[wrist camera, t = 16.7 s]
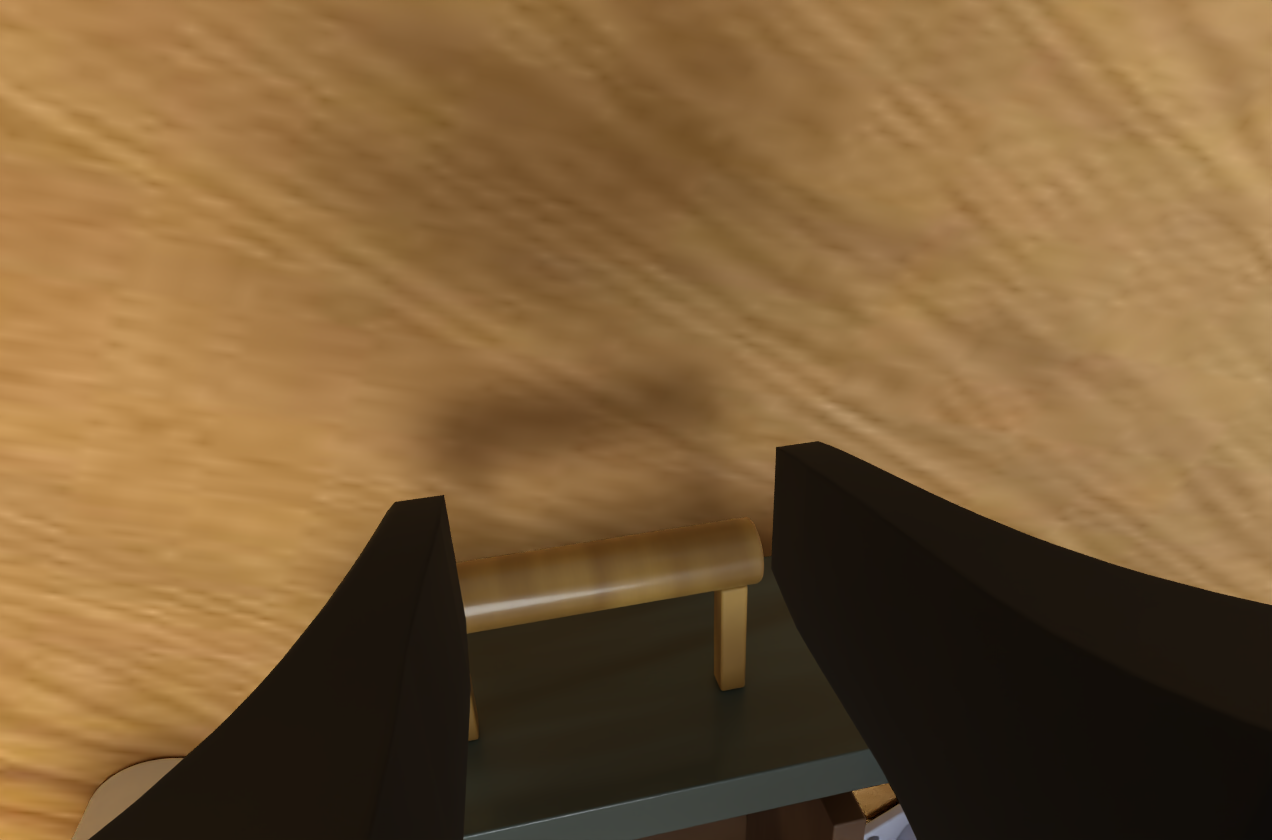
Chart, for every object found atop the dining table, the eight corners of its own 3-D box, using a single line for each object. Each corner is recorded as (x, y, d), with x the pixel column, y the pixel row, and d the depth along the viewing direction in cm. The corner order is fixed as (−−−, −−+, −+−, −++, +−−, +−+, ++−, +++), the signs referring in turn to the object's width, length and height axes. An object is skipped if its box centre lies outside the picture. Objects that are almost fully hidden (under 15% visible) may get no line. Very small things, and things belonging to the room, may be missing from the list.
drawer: (296, 485, 19) (225, 701, 13) (798, 416, 21) (941, 574, 15) (421, 941, 27) (414, 1205, 21) (773, 858, 29) (859, 1076, 23)
